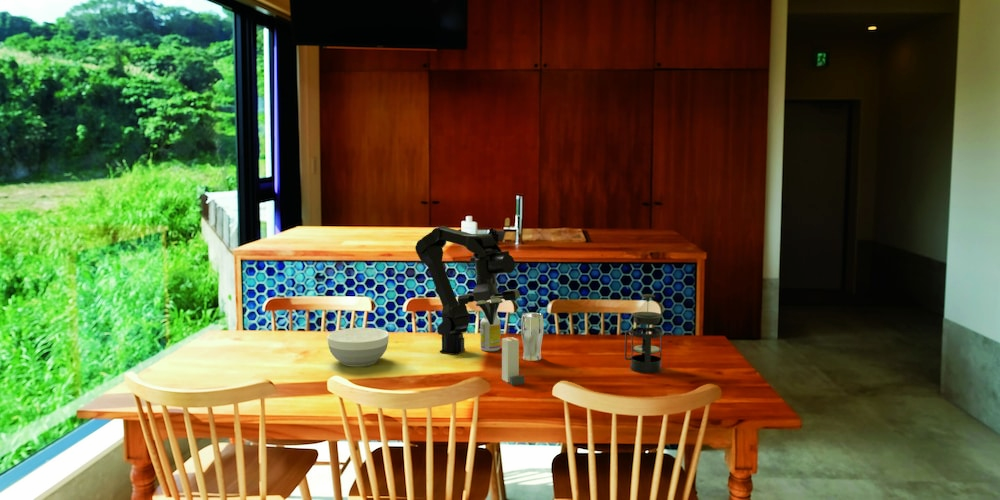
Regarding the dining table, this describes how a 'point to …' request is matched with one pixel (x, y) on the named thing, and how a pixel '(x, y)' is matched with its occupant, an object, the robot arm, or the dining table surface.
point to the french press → (645, 342)
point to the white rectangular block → (510, 358)
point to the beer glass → (532, 335)
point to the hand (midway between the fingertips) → (491, 324)
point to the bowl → (358, 345)
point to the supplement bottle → (490, 334)
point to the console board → (517, 380)
